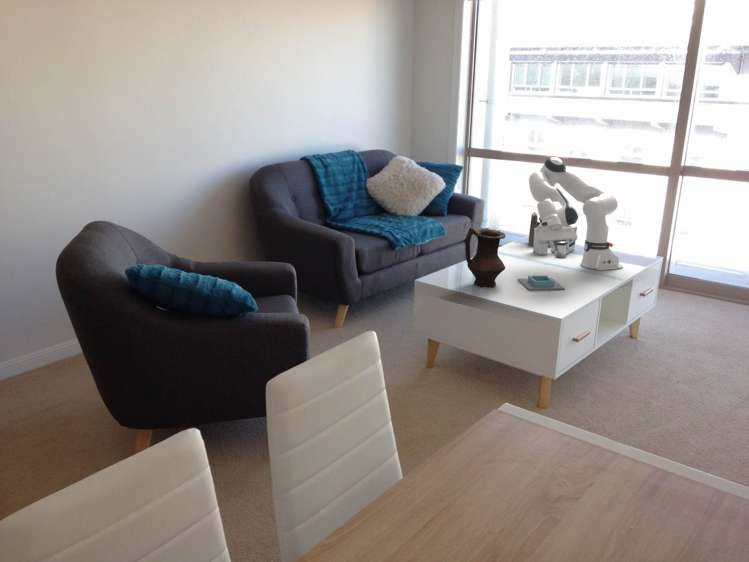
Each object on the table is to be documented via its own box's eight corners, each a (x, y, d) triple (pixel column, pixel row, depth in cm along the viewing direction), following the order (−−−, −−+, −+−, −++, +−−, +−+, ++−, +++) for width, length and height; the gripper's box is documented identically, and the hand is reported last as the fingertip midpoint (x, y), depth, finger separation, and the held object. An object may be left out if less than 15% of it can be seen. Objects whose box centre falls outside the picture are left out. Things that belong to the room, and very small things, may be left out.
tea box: (567, 254, 389) (569, 230, 384) (550, 252, 394) (553, 228, 390) (574, 249, 401) (577, 225, 397) (558, 247, 406) (561, 223, 402)
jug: (493, 278, 340) (497, 221, 331) (510, 288, 323) (514, 229, 314) (456, 280, 335) (459, 223, 326) (470, 291, 318) (474, 231, 309)
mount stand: (551, 279, 339) (551, 273, 338) (564, 290, 322) (565, 283, 321) (517, 280, 337) (517, 273, 336) (529, 291, 320) (529, 284, 319)
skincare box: (547, 254, 389) (550, 230, 384) (538, 254, 387) (540, 230, 383) (541, 251, 396) (543, 227, 392) (532, 251, 395) (534, 227, 391)
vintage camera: (553, 248, 406) (557, 216, 400) (528, 245, 408) (532, 214, 403) (552, 244, 415) (556, 213, 409) (527, 242, 417) (531, 211, 412)
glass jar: (562, 256, 325) (563, 240, 323) (567, 258, 320) (568, 242, 318) (553, 257, 324) (554, 241, 322) (558, 259, 319) (559, 242, 317)
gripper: (569, 229, 332) (578, 251, 325) (532, 231, 328) (540, 254, 321) (574, 221, 327) (583, 244, 320) (536, 223, 323) (544, 246, 316)
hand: (561, 249), depth 320 cm, fingers closed on glass jar, 5 cm apart
